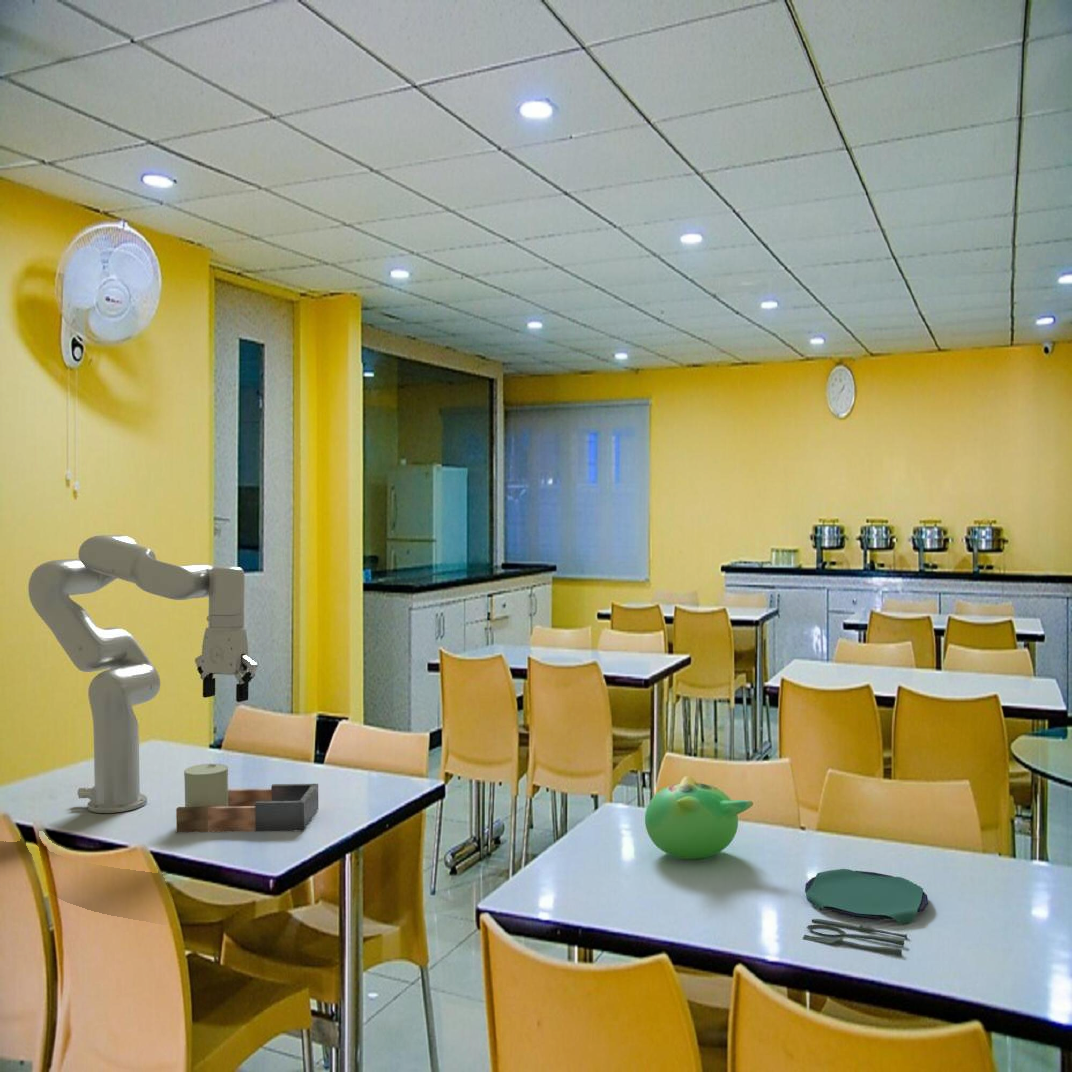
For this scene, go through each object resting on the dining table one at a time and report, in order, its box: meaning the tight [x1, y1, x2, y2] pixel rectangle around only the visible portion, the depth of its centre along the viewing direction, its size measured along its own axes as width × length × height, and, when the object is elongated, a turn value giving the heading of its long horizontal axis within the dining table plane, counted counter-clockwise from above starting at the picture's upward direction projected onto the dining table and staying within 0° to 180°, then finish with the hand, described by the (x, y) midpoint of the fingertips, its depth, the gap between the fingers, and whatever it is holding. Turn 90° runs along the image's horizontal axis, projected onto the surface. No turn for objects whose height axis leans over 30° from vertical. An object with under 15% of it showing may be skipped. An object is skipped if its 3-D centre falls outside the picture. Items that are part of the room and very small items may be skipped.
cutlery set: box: [802, 868, 929, 957], centre depth 159 cm, size 20×30×2 cm, turn 153°
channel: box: [175, 788, 272, 833], centre depth 209 cm, size 16×14×5 cm
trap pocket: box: [255, 783, 320, 832], centre depth 210 cm, size 10×14×6 cm
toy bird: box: [644, 775, 754, 860], centre depth 185 cm, size 18×17×15 cm
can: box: [183, 763, 229, 807], centre depth 209 cm, size 9×9×12 cm
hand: (225, 698), depth 214 cm, fingers open, 9 cm apart
